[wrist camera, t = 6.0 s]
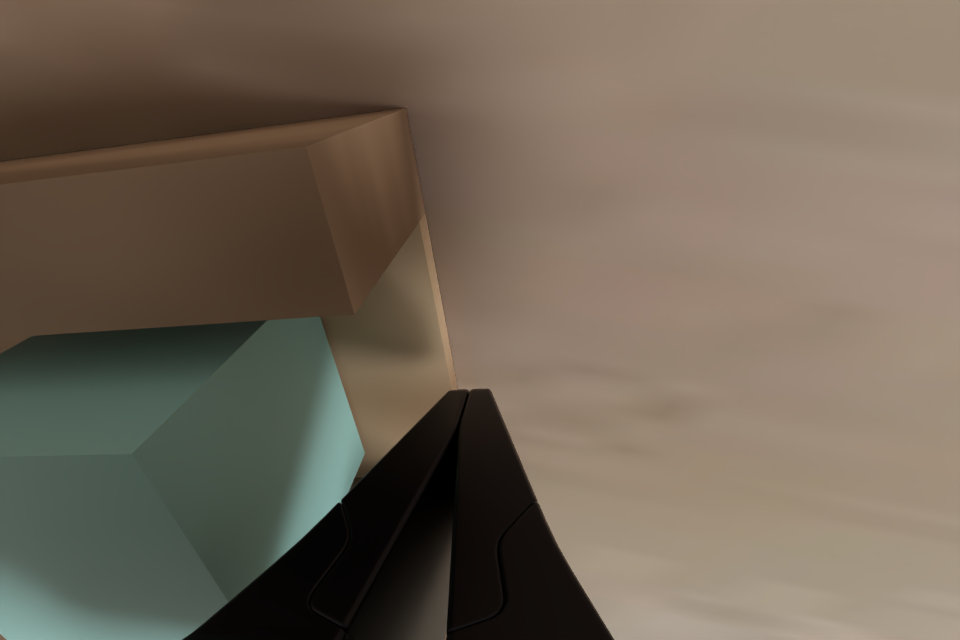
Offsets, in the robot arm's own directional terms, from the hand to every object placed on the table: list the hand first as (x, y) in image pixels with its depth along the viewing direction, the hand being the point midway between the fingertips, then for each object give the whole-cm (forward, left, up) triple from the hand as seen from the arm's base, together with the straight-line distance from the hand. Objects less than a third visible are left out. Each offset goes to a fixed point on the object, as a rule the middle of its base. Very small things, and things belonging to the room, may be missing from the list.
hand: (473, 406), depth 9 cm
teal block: (0, +6, -1) cm, 6 cm away
